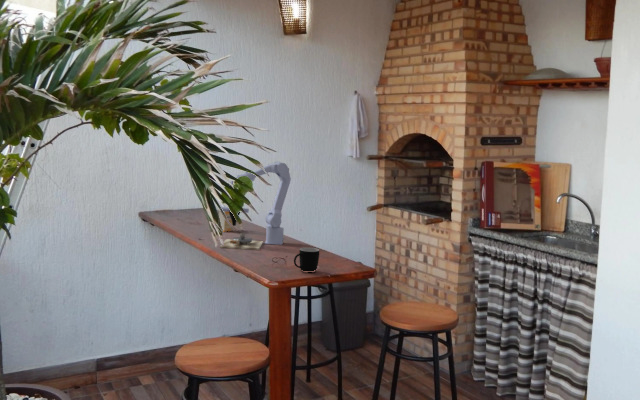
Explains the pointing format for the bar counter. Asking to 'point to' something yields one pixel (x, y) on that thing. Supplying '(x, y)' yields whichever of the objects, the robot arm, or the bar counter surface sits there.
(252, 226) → the bar counter surface
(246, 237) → the flange
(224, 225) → the supplement box
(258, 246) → the base
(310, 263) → the mug
